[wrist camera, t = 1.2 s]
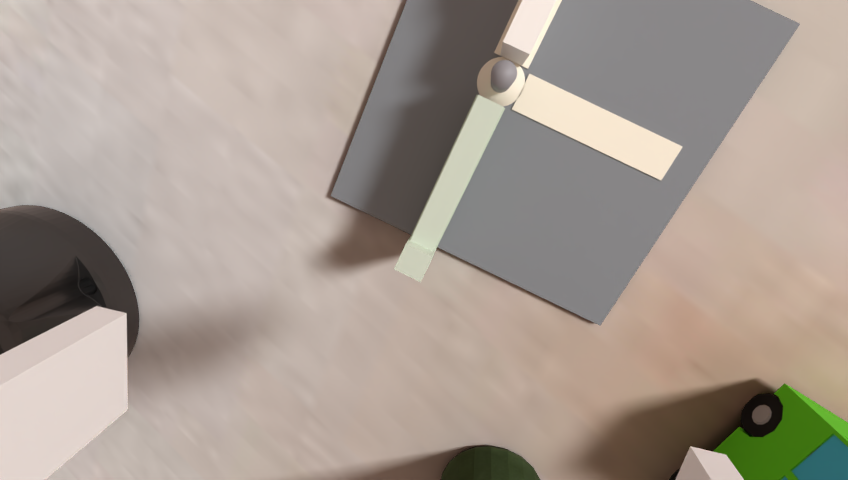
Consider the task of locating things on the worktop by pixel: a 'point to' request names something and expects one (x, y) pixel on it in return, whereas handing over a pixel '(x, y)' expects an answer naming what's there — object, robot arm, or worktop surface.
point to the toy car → (787, 440)
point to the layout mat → (560, 131)
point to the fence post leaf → (520, 41)
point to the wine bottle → (489, 465)
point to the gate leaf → (449, 187)
